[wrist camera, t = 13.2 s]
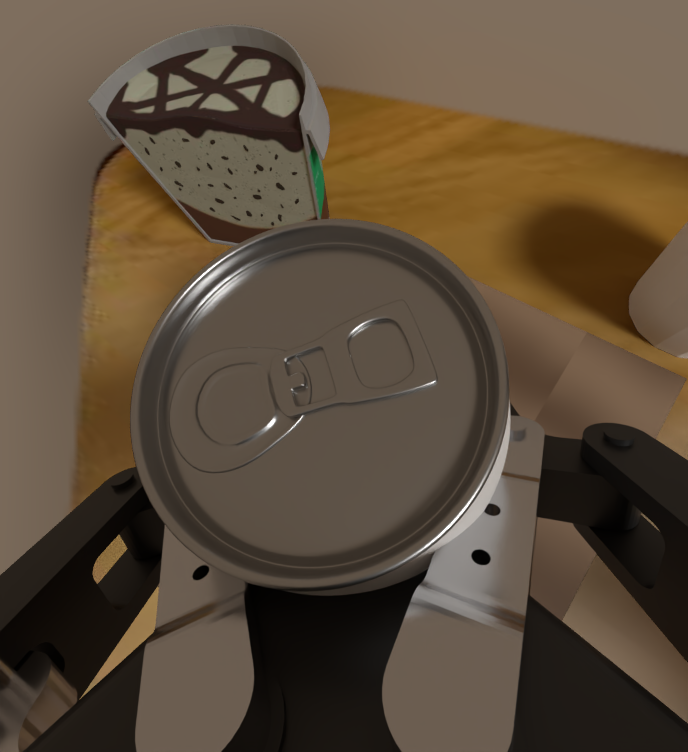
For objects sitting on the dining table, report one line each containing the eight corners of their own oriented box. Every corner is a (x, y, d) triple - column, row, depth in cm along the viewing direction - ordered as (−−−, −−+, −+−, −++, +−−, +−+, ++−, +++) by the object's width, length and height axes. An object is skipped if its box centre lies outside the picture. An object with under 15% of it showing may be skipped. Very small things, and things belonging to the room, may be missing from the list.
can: (291, 418, 18) (95, 273, 7) (417, 376, 17) (435, 146, 6) (326, 559, 15) (112, 705, 4) (473, 513, 15) (659, 540, 4)
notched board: (406, 268, 23) (406, 247, 21) (658, 391, 18) (686, 378, 17) (179, 576, 19) (155, 584, 17) (425, 831, 15) (428, 880, 13)
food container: (374, 192, 26) (356, 15, 16) (349, 265, 24) (312, 115, 15) (224, 175, 29) (135, 17, 19) (192, 239, 27) (78, 101, 18)
